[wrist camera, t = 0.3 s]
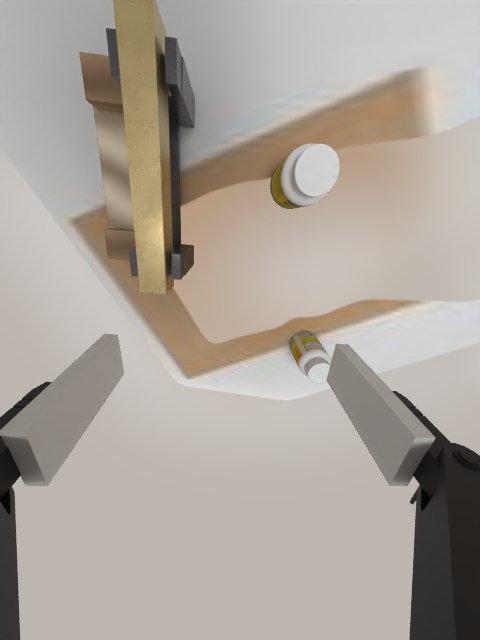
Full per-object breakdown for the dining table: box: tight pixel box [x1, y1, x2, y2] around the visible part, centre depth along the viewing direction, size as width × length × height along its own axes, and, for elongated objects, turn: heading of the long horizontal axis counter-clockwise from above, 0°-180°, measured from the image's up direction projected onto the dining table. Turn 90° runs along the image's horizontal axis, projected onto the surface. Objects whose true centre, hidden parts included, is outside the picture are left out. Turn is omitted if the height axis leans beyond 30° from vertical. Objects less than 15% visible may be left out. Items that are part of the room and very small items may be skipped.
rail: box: [113, 0, 174, 294], centre depth 24 cm, size 24×3×4 cm, turn 175°
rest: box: [80, 52, 136, 260], centre depth 31 cm, size 22×7×3 cm, turn 175°
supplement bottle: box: [290, 332, 331, 384], centre depth 40 cm, size 5×5×10 cm
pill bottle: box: [270, 144, 339, 209], centre depth 29 cm, size 6×6×11 cm
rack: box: [106, 28, 194, 280], centre depth 28 cm, size 22×6×10 cm, turn 175°
